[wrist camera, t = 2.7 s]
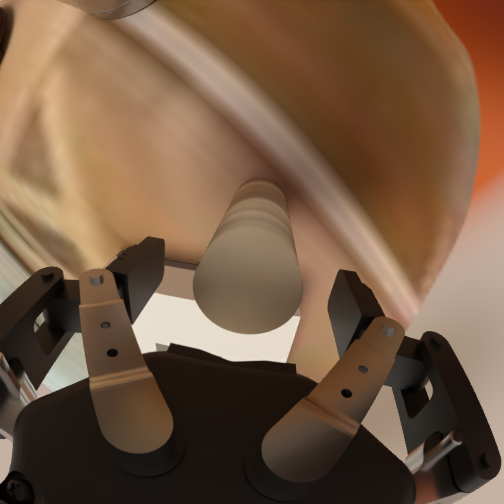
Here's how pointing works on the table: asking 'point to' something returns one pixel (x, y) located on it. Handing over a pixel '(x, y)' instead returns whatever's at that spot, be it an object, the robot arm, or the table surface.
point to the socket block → (202, 323)
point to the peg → (251, 264)
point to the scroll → (1, 26)
